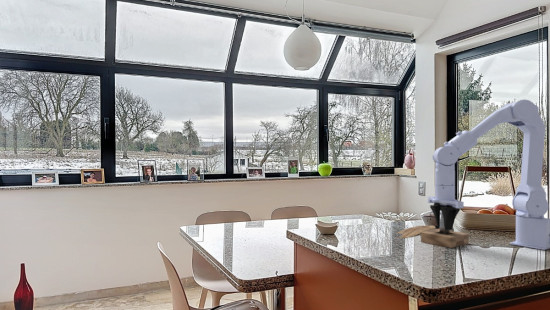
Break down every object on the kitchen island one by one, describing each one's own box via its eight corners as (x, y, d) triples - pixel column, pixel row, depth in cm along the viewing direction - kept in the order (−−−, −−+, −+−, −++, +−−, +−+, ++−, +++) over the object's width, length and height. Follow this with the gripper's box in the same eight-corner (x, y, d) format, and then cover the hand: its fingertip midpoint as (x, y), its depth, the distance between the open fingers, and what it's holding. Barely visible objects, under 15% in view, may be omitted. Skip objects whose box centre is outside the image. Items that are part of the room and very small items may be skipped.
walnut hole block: (468, 243, 124) (468, 233, 124) (450, 247, 118) (450, 237, 118) (438, 238, 132) (439, 228, 132) (420, 241, 126) (420, 232, 126)
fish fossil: (416, 241, 129) (415, 237, 129) (385, 239, 135) (385, 236, 135) (439, 228, 149) (439, 225, 149) (412, 227, 155) (412, 224, 155)
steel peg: (451, 239, 125) (451, 210, 125) (446, 241, 123) (446, 211, 123) (442, 238, 127) (443, 209, 127) (437, 239, 125) (437, 210, 125)
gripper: (419, 183, 131) (419, 225, 131) (449, 187, 117) (448, 233, 117) (438, 183, 133) (438, 224, 133) (469, 186, 119) (469, 232, 119)
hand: (444, 228), depth 125 cm, fingers closed on steel peg, 3 cm apart
